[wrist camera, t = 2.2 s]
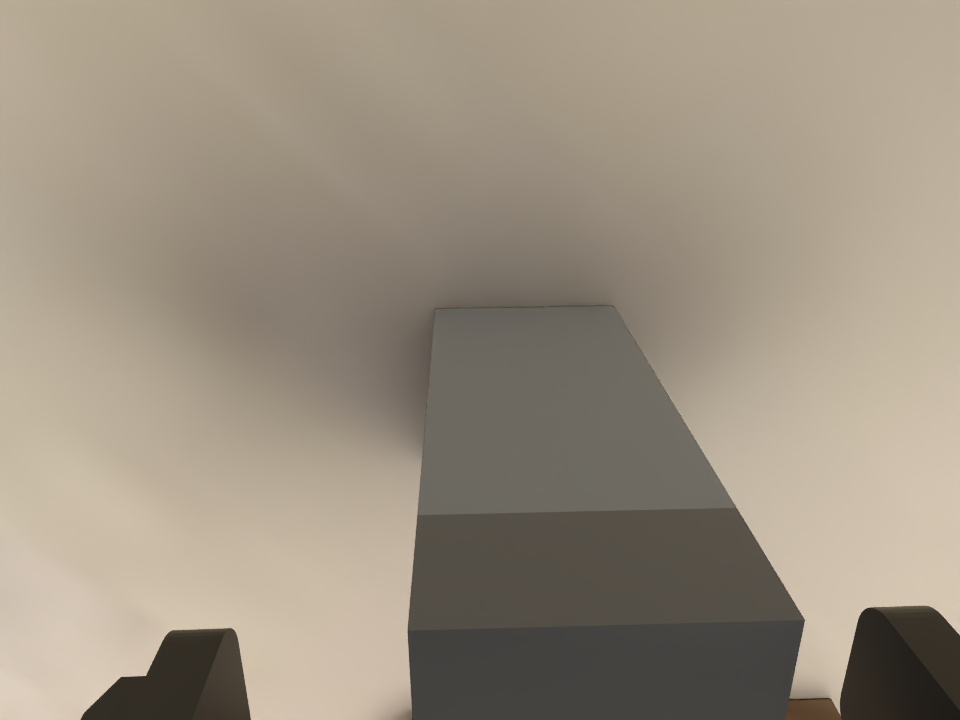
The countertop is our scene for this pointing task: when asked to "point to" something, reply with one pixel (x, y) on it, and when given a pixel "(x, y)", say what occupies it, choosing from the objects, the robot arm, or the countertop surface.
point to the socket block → (810, 710)
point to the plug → (580, 538)
